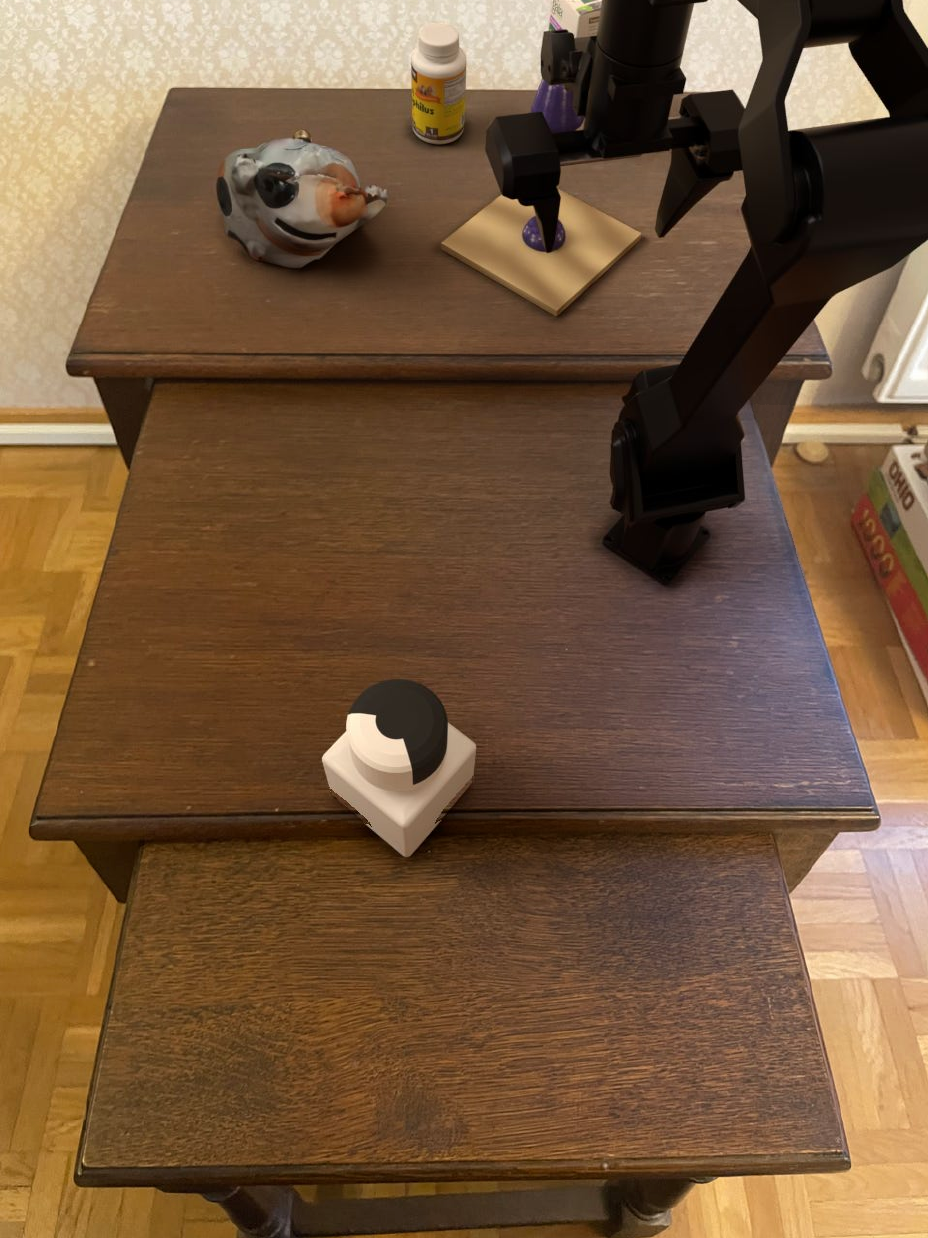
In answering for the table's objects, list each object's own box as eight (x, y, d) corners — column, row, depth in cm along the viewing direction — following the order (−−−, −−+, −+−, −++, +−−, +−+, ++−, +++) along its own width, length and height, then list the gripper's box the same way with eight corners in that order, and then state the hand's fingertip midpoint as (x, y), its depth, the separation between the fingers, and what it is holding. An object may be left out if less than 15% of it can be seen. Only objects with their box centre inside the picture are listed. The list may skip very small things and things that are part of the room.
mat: (556, 316, 90) (557, 310, 90) (440, 249, 95) (440, 242, 94) (640, 239, 96) (642, 233, 95) (527, 179, 100) (528, 172, 99)
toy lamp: (572, 251, 94) (598, 84, 79) (526, 259, 93) (544, 91, 78) (557, 219, 96) (580, 50, 81) (512, 226, 95) (526, 57, 81)
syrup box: (534, 125, 104) (548, -19, 92) (582, 112, 106) (603, -31, 93) (559, 156, 102) (577, 13, 89) (608, 142, 103) (633, 0, 91)
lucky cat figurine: (373, 185, 99) (406, 106, 85) (358, 298, 97) (389, 236, 84) (222, 144, 94) (232, 55, 81) (205, 262, 93) (212, 190, 80)
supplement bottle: (402, 125, 104) (399, 27, 95) (445, 108, 105) (446, 10, 97) (430, 153, 102) (430, 56, 93) (474, 135, 103) (478, 38, 94)
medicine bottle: (397, 722, 70) (391, 643, 59) (474, 783, 68) (482, 712, 57) (329, 795, 67) (310, 726, 57) (407, 861, 65) (402, 802, 55)
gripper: (731, -39, 68) (681, 162, 82) (471, -13, 65) (464, 190, 79) (792, 54, 63) (728, 252, 76) (512, 85, 60) (497, 284, 74)
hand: (603, 241), depth 76 cm, fingers open, 9 cm apart
